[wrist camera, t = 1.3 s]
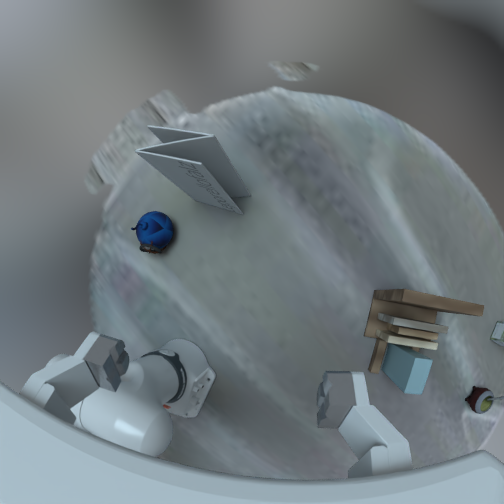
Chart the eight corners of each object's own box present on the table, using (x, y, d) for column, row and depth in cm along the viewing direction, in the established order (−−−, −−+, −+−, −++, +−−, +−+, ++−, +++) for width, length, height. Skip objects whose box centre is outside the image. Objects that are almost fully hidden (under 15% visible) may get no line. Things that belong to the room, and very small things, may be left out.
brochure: (194, 200, 74) (134, 151, 45) (202, 182, 74) (147, 125, 45) (243, 215, 71) (200, 164, 42) (250, 195, 71) (214, 134, 42)
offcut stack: (419, 342, 57) (442, 351, 44) (373, 334, 60) (388, 343, 47) (425, 321, 57) (448, 326, 45) (378, 312, 60) (394, 317, 48)
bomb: (145, 254, 75) (113, 246, 60) (151, 216, 76) (120, 201, 62) (176, 257, 73) (146, 248, 58) (181, 216, 74) (154, 200, 60)
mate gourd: (463, 410, 51) (488, 429, 37) (464, 386, 53) (491, 402, 38) (483, 400, 50) (509, 416, 36) (483, 377, 51) (512, 390, 37)
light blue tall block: (395, 371, 58) (421, 394, 41) (381, 369, 59) (404, 392, 41) (403, 344, 59) (432, 360, 41) (389, 342, 60) (415, 357, 42)
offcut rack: (418, 376, 56) (456, 404, 35) (354, 367, 60) (374, 398, 39) (437, 303, 58) (484, 305, 37) (374, 290, 62) (404, 288, 41)
